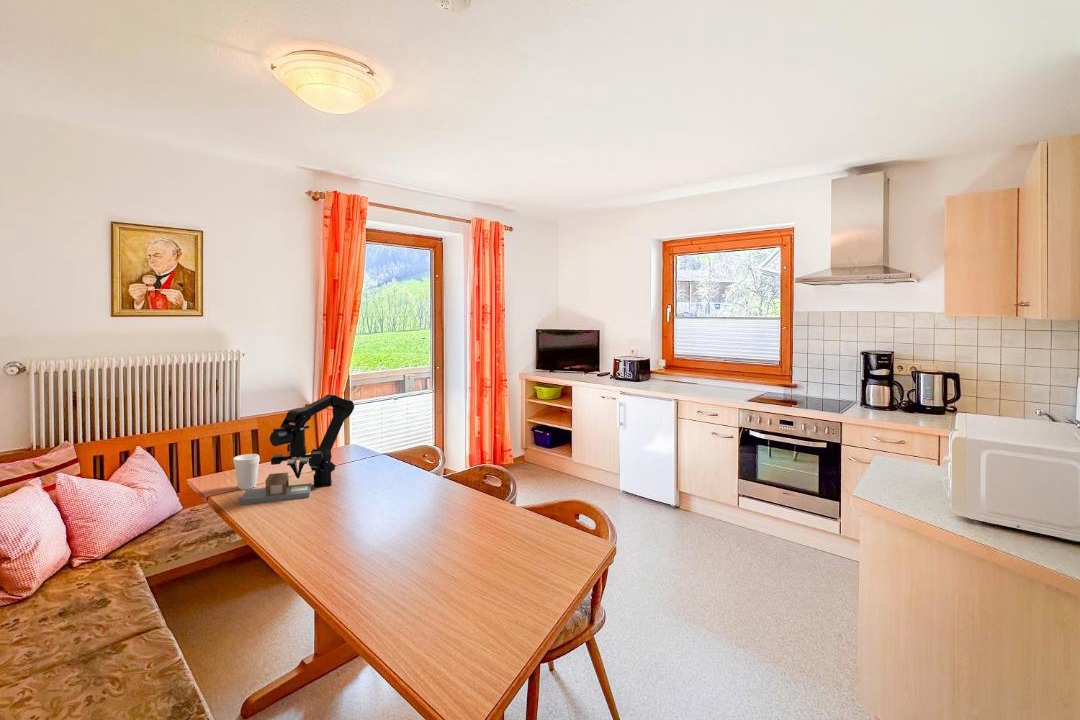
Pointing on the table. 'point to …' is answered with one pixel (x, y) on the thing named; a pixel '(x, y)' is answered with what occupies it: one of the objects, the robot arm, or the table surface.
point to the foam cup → (246, 470)
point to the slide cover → (277, 481)
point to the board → (291, 493)
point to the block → (275, 489)
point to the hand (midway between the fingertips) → (298, 478)
